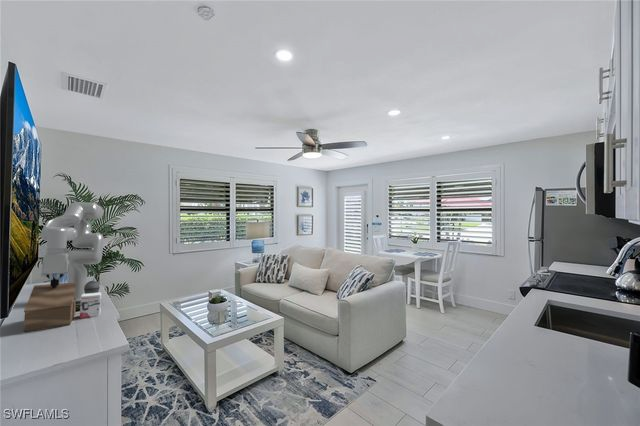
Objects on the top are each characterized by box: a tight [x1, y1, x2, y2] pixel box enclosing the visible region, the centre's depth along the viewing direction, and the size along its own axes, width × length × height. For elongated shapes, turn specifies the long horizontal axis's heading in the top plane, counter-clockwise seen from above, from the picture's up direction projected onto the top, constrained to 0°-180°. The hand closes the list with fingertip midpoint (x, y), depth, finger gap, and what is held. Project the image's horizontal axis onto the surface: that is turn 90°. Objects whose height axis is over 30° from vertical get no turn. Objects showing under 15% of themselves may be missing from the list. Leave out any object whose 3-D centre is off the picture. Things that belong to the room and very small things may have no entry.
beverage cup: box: [84, 273, 100, 294], centre depth 164 cm, size 7×7×20 cm
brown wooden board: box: [23, 282, 77, 313], centre depth 140 cm, size 18×16×1 cm
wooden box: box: [23, 298, 77, 332], centre depth 141 cm, size 18×16×9 cm
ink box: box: [79, 291, 102, 319], centre depth 152 cm, size 8×5×12 cm, turn 123°
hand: (54, 286), depth 144 cm, fingers closed
